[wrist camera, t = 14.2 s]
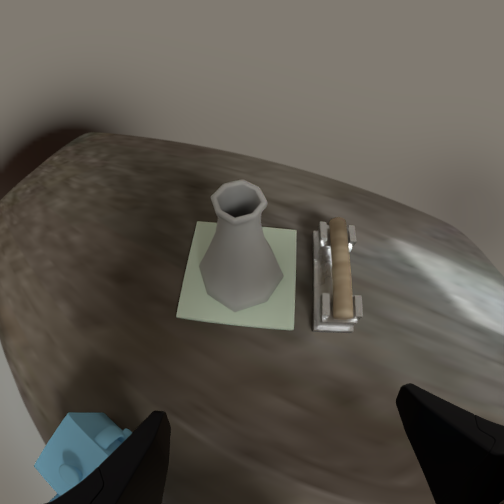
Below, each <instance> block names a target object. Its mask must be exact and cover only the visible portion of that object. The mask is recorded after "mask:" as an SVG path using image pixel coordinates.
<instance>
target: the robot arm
mask: <svg viewBox="0 0 504 504" xmlns="http://www.w3.org/2000/svg"><path fill="white" fill-rule="evenodd" d="M396 405H397V408H398V411H399V414H400V417H401V420H402V423H403V426H404V429H405V432H406V434H407V437H408V439H409V441H410V443H411V445H412V448H413V450H414V452H415V454H416V457H417V459H418V461H419V463H420V466H421V468H422V470H423V473H424V475H425V478H426V480H427V482H428V485H429V487H430V490H431V492H432V495H433V497H434V500H435V503H436V504H504V426H503V425H499V424H496V423H494V422H491V421H488V420H486V419H484V418H481V417H479V416H477V415H474V414H473V413H470V412H468V411H466V410H464V409H462V408H460V407H458V406H456V405H454V404H452V403H450V402H447V401H445V400H443V399H441V398H439V397H437V396H435V395H433V394H431V393H429V392H427V391H425V390H423V389H421V388H420V387H418V386H416V385H414V384H411V383H409V384H406V385H403V386H402V387H401V388H400V391H399V393H398V396H397V398H396ZM170 433H171V427H170V423H169V420H168V418H167V415H166V413H165V412H164V411H153V412H152V413H151V414H150V415H149V416H148V417H147V418H146V419H145V420H144V421H143V422H142V423H141V424H140V425H139V427H138V428H137V429H136V430H135V431H134V432H133V433H132V434H131V435H130V436H129V437H128V438H127V439H126V440H125V441H124V442H123V443H122V444H121V445H120V446H119V447H118V448H117V449H116V450H115V451H113V452H112V453H111V454H110V455H109V456H108V457H107V458H106V459H105V460H104V461H103V462H102V463H101V464H100V465H99V467H97V468H96V469H95V470H94V471H93V472H92V473H90V474H89V475H88V476H87V477H86V478H85V479H84V480H82V481H81V482H80V483H78V484H77V485H76V486H74V487H73V488H71V489H70V490H68V491H67V492H65V493H64V494H62V495H61V496H59V497H58V498H56V499H55V500H53V501H51V502H49V503H45V504H161V503H162V497H163V492H164V486H165V481H166V475H167V470H168V464H169V448H170Z"/></svg>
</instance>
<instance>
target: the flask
mask: <svg viewBox="0 0 504 504" xmlns="http://www.w3.org/2000/svg"><path fill="white" fill-rule="evenodd" d="M211 201H212V204H213V206H214V209H215V212H216V215H217V217H218V220H217V226H216V232H215V234H214V237H213V239H212V241H211V243H210V245H209V247H208V250H207V251H206V253H205V255H204V257H203V259H202V261H201V263H200V265H199V268H200V271H201V275H202V278H203V282H204V285H205V288H206V291H207V294H208V295H209V296H211V297H212V298H214V299H215V300H217V301H218V302H220V303H221V304H223V305H224V306H226V307H227V308H229V309H230V310H232V311H233V312H237V311H240V310H243V309H246V308H249V307H252V306H255V305H258V304H261V303H264V302H267V301H268V299H269V298H270V296H271V295H272V293H273V292H274V290H275V289H276V287H277V286H278V284H279V283H280V281H281V280H282V278H283V277H284V275H283V273H282V271H281V269H280V267H279V264H278V262H277V260H276V258H275V255H274V253H273V251H272V249H271V247H270V245H269V243H268V242H267V240H266V239H265V237H264V234H263V230H262V225H261V212H262V211H263V210H264V209H265V208H266V206H267V200H266V198H265V196H264V195H263V193H262V191H261V189H260V187H258V186H256V185H254V184H252V183H250V182H248V181H246V180H244V179H241V180H237V181H233V182H229V183H225V184H223V185H222V186H221V187H220V188H219V189H218V190H217V191H216V192H215V193H214V194H213V195H212V196H211Z"/></svg>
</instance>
